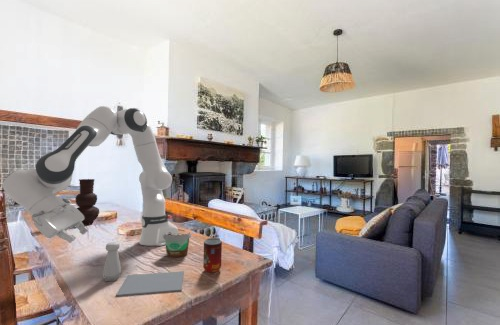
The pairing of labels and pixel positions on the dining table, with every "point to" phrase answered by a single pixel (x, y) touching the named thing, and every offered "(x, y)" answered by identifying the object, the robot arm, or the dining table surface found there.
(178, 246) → the food container
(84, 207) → the vase
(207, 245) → the soda can
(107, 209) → the dining table surface
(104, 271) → the salt shaker
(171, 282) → the mat
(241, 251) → the dining table surface
